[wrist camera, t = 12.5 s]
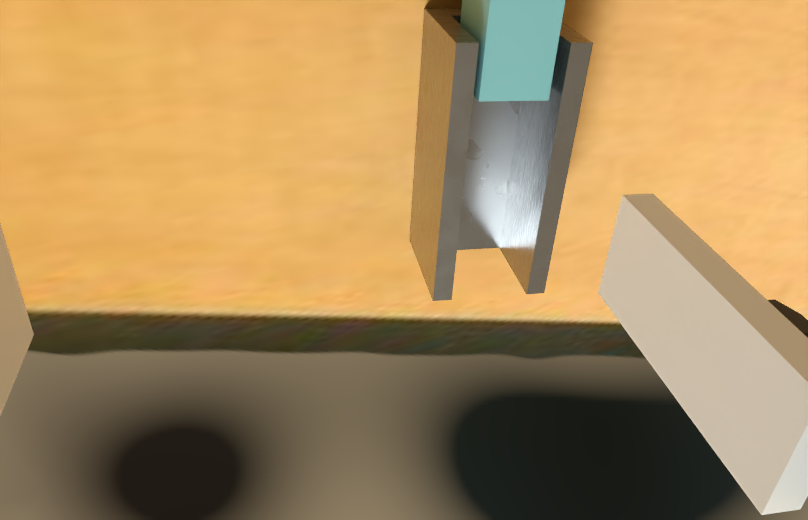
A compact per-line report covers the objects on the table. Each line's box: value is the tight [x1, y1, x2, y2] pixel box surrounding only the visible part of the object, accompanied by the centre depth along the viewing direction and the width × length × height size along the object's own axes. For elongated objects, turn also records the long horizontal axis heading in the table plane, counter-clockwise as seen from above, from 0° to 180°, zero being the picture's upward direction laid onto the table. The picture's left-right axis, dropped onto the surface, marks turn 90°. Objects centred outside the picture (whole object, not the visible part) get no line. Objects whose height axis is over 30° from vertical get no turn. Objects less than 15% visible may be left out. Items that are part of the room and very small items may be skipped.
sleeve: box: [410, 8, 593, 301], centre depth 43 cm, size 7×16×8 cm, turn 177°
